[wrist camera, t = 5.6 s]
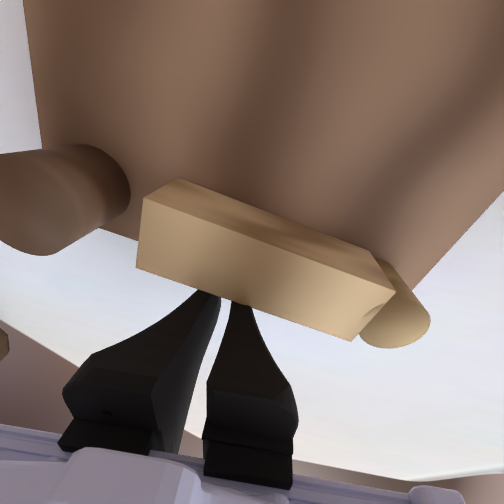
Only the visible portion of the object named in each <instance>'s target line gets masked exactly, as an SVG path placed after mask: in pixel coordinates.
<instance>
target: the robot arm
mask: <svg viewBox="0 0 504 504" xmlns="http://www.w3.org/2000/svg"><path fill="white" fill-rule="evenodd" d="M220 307H221V297H219V296H216V295H213V294H211V293H208V292H205V291H202V290H199V289H198V290H197V291H196V292H195V293H193V294H192V295H191V296H190V297H189V298H188V299H187V300H186V301H185V302H183V303H182V304H181V305H180V306H179V307H177V308H176V309H175V310H174V311H172V312H171V313H170V314H168V315H167V316H165V317H164V318H162V319H161V320H160V321H158V322H156V323H155V324H153V325H152V326H150V327H148V328H147V329H145V330H143V331H141V332H140V333H138V334H136V335H134V336H132V337H130V338H128V339H126V340H124V341H122V342H119V343H117V344H115V345H113V346H110V347H108V348H105V349H103V350H101V351H98V352H96V353H93V354H91V355H90V357H89V358H88V359H87V360H86V361H85V362H84V363H83V364H82V365H81V367H80V368H79V369H78V370H77V372H76V373H75V374H74V375H73V377H72V378H71V379H70V380H69V382H68V383H67V384H66V385H65V387H64V388H63V392H62V395H63V399H64V401H65V403H66V405H67V406H68V408H69V410H70V412H71V413H72V415H73V417H74V419H73V420H72V422H71V423H70V425H69V426H68V428H67V429H66V430H65V432H64V434H63V435H62V434H56V433H50V432H44V431H38V430H32V429H27V428H21V427H15V426H9V425H3V424H0V504H466V503H465V501H464V499H463V497H462V495H461V493H459V492H458V491H456V490H450V489H443V488H438V487H431V486H423V485H421V486H416V487H413V488H412V489H411V490H410V491H409V493H408V494H407V493H401V492H395V491H390V490H384V489H378V488H372V487H366V486H360V485H354V484H348V483H342V482H337V481H331V480H325V479H319V478H313V477H307V476H302V475H296V474H293V472H292V454H293V437H294V434H295V432H296V429H297V427H298V421H299V419H298V411H297V406H296V402H295V398H294V395H293V391H292V388H291V385H290V384H289V382H288V381H287V379H286V378H285V377H284V375H283V374H282V372H281V371H280V369H279V368H278V366H277V364H276V363H275V361H274V359H273V358H272V356H271V354H270V352H269V350H268V348H267V346H266V345H265V342H264V340H263V338H262V336H261V334H260V331H259V329H258V326H257V323H256V320H255V317H254V314H253V310H252V307H250V306H249V305H242V304H240V303H237V302H234V301H231V308H230V315H229V319H228V323H227V326H226V329H225V333H224V336H223V339H222V342H221V345H220V348H219V351H218V354H217V356H216V359H215V362H214V364H213V367H212V370H211V372H210V375H209V377H208V380H207V417H206V421H205V426H204V430H203V434H202V440H203V459H202V458H196V457H191V456H184V455H179V454H178V451H179V447H180V442H181V438H182V434H183V430H184V426H185V422H186V418H187V414H188V410H189V406H190V403H191V399H192V395H193V391H194V387H195V384H196V380H197V377H198V373H199V369H200V366H201V363H202V360H203V357H204V354H205V352H206V349H207V347H208V344H209V341H210V339H211V336H212V334H213V331H214V328H215V326H216V323H217V319H218V315H219V311H220Z"/></svg>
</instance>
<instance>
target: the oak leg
mask: <svg viewBox="0 0 504 504" xmlns="http://www.w3.org/2000/svg"><path fill="white" fill-rule="evenodd" d="M136 268H138V269H141V270H144V271H147V272H150V273H152V274H155V275H158V276H161V277H164V278H167V279H170V280H173V281H176V282H179V283H182V284H184V285H187V286H190V287H193V288H196V289H199V290H202V291H205V292H208V293H211V294H213V295H216V296H219V297H222V298H225V299H228V300H231V301H234V302H237V303H240V304H242V305H249V306H250V307H252V308H254V309H257V310H260V311H263V312H266V313H269V314H272V315H274V316H277V317H280V318H283V319H286V320H289V321H292V322H295V323H298V324H301V325H303V326H306V327H309V328H312V329H315V330H318V331H321V332H324V333H327V334H330V335H332V336H335V337H338V338H341V339H344V340H347V341H350V342H351V341H352V340H353V339H354V338H355V337H356V336H357V335H358V334H359V335H360V337H361V338H362V339H363V340H364V341H365V342H366V343H368V344H370V345H372V346H375V347H379V348H398V347H403V346H406V345H409V344H411V343H413V342H415V341H417V340H418V339H420V338H421V337H422V336H423V335H424V334H425V333H426V332H427V330H428V328H429V326H430V316H429V314H428V312H427V311H426V309H425V308H424V307H423V305H422V304H421V303H420V301H419V300H418V299H417V297H416V296H415V295H414V294H413V292H412V291H411V290H410V288H409V287H408V286H407V284H406V283H405V282H404V280H403V279H402V278H401V276H400V275H399V274H398V273H397V271H396V270H395V269H394V267H393V266H392V265H391V264H390V263H388V262H386V261H384V260H380V259H374V257H373V256H372V254H371V253H370V251H368V250H366V249H363V248H361V247H358V246H355V245H353V244H350V243H347V242H345V241H342V240H340V239H337V238H334V237H332V236H329V235H327V234H324V233H321V232H319V231H316V230H314V229H311V228H308V227H306V226H303V225H301V224H298V223H295V222H293V221H290V220H287V219H285V218H282V217H280V216H277V215H274V214H272V213H269V212H267V211H264V210H261V209H259V208H256V207H254V206H251V205H248V204H246V203H243V202H240V201H238V200H235V199H233V198H230V197H227V196H225V195H222V194H220V193H217V192H214V191H212V190H209V189H207V188H204V187H201V186H199V185H196V184H194V183H191V182H188V181H186V180H183V179H180V178H177V179H175V180H173V181H172V182H170V183H168V184H166V185H165V186H163V187H161V188H159V189H158V190H156V191H154V192H152V193H151V194H149V195H147V196H145V197H144V198H143V206H142V215H141V224H140V233H139V242H138V251H137V260H136Z"/></svg>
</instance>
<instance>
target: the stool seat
mask: <svg viewBox="0 0 504 504" xmlns="http://www.w3.org/2000/svg"><path fill="white" fill-rule="evenodd" d="M23 5H24V13H25V21H26V28H27V36H28V43H29V51H30V59H31V66H32V74H33V81H34V89H35V97H36V104H37V112H38V119H39V127H40V135H41V142H42V149H38V150H30V151H22V152H14V153H6V154H0V240H1V241H2V242H4V243H6V244H7V245H9V246H11V247H13V248H15V249H17V250H19V251H22V252H24V253H28V254H31V255H38V256H47V255H52V254H55V253H57V252H59V251H60V250H62V249H64V248H65V247H67V246H69V245H70V244H72V243H74V242H75V241H77V240H79V239H80V238H82V237H84V236H85V235H87V234H89V233H90V232H92V231H94V230H95V229H97V228H101V229H104V230H107V231H110V232H113V233H116V234H119V235H122V236H125V237H127V238H130V239H133V240H136V241H139V233H140V224H141V215H142V206H143V198H144V197H145V196H147V195H149V194H151V193H152V192H154V191H156V190H158V189H159V188H161V187H163V186H165V185H166V184H168V183H170V182H172V181H173V180H175V179H177V178H180V179H183V180H186V181H188V182H191V183H194V184H196V185H199V186H201V187H204V188H207V189H209V190H212V191H214V192H217V193H220V194H222V195H225V196H227V197H230V198H233V199H235V200H238V201H240V202H243V203H246V204H248V205H251V206H254V207H256V208H259V209H261V210H264V211H267V212H269V213H272V214H274V215H277V216H280V217H282V218H285V219H287V220H290V221H293V222H295V223H298V224H301V225H303V226H306V227H308V228H311V229H314V230H316V231H319V232H321V233H324V234H327V235H329V236H332V237H334V238H337V239H340V240H342V241H345V242H347V243H350V244H353V245H355V246H358V247H361V248H363V249H366V250H368V251H370V253H371V254H372V256H373V257H374V259H380V260H384V261H386V262H388V263H390V264H391V265H392V266H393V267H394V269H395V270H396V271H397V273H398V274H399V275H400V276H401V278H402V279H403V280H404V282H405V283H406V284H407V286H408V287H409V288H410V290H411V291H412V290H413V289H414V288H415V286H416V285H417V284H418V283H419V282H420V281H421V280H422V279H423V278H424V277H425V276H426V275H427V273H428V272H429V271H430V270H431V269H432V268H433V267H434V266H435V265H436V264H437V263H438V261H439V260H440V259H441V258H442V257H443V256H444V255H445V254H446V253H447V252H448V251H449V250H450V248H451V247H452V246H453V245H454V244H455V243H456V242H457V241H458V240H459V239H460V238H461V237H462V235H463V234H464V233H465V232H466V231H467V230H468V229H469V228H470V227H471V226H472V225H473V223H474V222H475V221H476V220H477V219H478V218H479V217H480V216H481V215H482V214H483V213H484V212H485V210H486V209H487V208H488V207H489V206H490V205H491V204H492V203H493V202H494V201H495V200H496V198H497V197H498V196H499V195H500V194H501V193H502V192H503V191H504V0H23Z"/></svg>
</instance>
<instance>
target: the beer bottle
mask: <svg viewBox="0 0 504 504" xmlns="http://www.w3.org/2000/svg"><path fill="white" fill-rule="evenodd" d="M8 352H9V341H8V335H7V334H6V333H5V332H4V331H2V329H0V361H1V360H2V359H3V358H4V357H5V356H6V355H7V354H8Z"/></svg>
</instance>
